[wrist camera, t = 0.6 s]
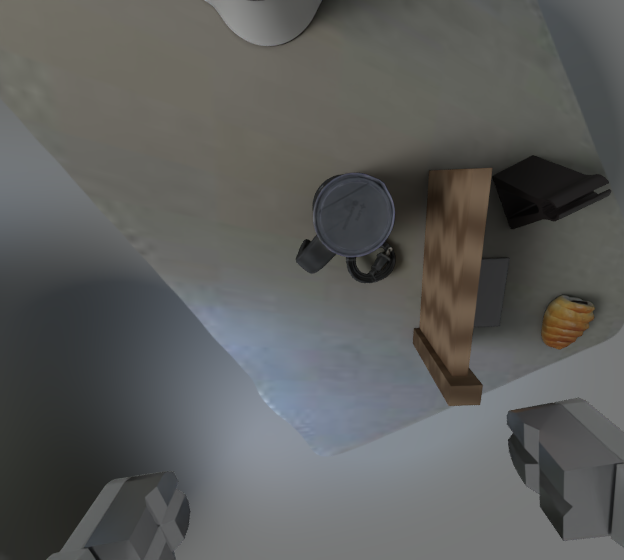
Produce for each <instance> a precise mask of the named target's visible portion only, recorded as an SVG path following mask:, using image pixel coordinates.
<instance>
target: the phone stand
mask: <svg viewBox="0 0 624 560" xmlns="http://www.w3.org/2000/svg"><path fill="white" fill-rule="evenodd" d="M493 180H494V183H495V186H496V189H497V192H498V195H499V198H500V200H501V202H502V206H503V209H504V212H505V215H506V217H507V220H508V223H509V226H510V228H511V229H515V228H518V227H521V226H524V225H527V224H530V223H533V222H536V221H539V220H542V219H548V220H551V221H557V220H559V219H561V218H563V217H566V216H568V215H570V214H572V213H574V212H576V211H578V210H580V209H582V208H584V207H586V206H588V205H591V204H593V203H595V202H597V201H599V200H601V199H603V198H605V197H607V196H609V195H610V193H611V190H610V189H608V190H606V191H604V192H602V193H600V194H597V193H595V192H594V191H593V190H595V189H597V188H600V187H602V186H604V185H606V184H608V183H609V181H608V180H607V179H606V178H605V177H603V176H602V175H598V174H595V175H585V174H582V173H579V172H576V171H574V170H571V169H568V168H566V167H563V166H560V165H558V164H555V163H552V162H550V161H547V160H544V159H541V158H539V157H536V156H531V157H529V158H527V159H525V160H523V161H521V162H519V163H517V164H515V165H513V166H511V167H510V168H508V169H506V170H504V171H502V172H500V173H498V174H496V175H494V176H493Z"/></svg>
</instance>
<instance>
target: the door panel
mask: <svg viewBox="0 0 624 560" xmlns="http://www.w3.org/2000/svg"><path fill="white" fill-rule="evenodd" d="M491 175H492V168H476V169H452V170H432V171H429V181H428V198H427V214H426V231H425V247H424V264H423V280H422V297H421V313H420V328H414V334H413V345H414V346H415V348H416V350H417V352H418V353H419V355H420V357H421V358H422V360H423V362H424V364H425V365H426V367H427V369H428V371H429V372H430V374H431V376H432V378H433V379H434V381H435V383H436V385H437V386H438V388H439V390H440V392H441V393H442V395H443V397H444V398H445V400H446V402H447V404H448V405H449V406H461V405H480V402H481V395H482V387H483V385H482V384H481V382H480V381H479V380H478V379H477V377H476V376H475V375H474V374H473V372H472V371H471V370H470V368H469V360H470V352H471V343H472V335H473V326H474V318H475V310H476V301H477V293H478V284H479V276H480V268H481V259H482V251H483V242H484V234H485V226H486V217H487V209H488V200H489V192H490V184H491Z"/></svg>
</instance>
